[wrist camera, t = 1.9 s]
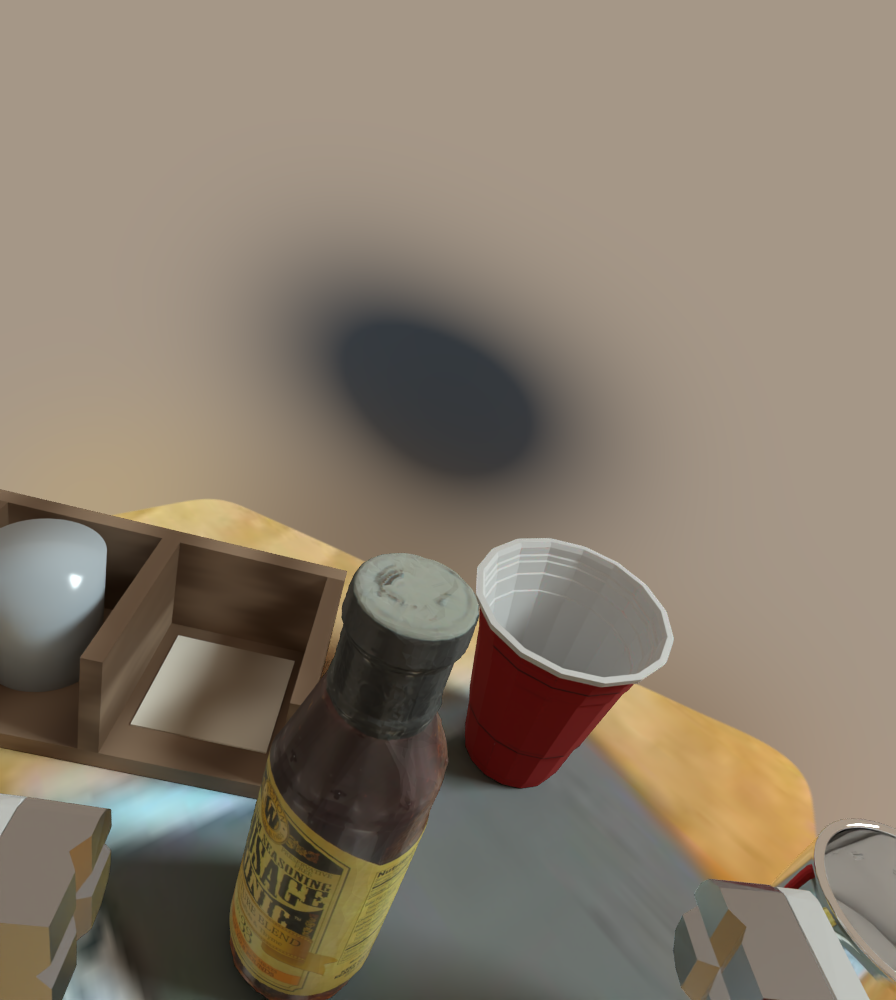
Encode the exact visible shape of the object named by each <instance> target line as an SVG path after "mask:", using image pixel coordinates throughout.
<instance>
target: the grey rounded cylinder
mask: <svg viewBox="0 0 896 1000" xmlns="http://www.w3.org/2000/svg"><path fill="white" fill-rule="evenodd" d="M106 558H107V547H106V543H105V541H104V540H103V538H102V537H101V536H100V535H99V534H98V533H97V532H96V531H94V530H93V529H91V528H89V527H87V526H85V525H82V524H80V523H76V522H73V521H68V520H62V519H31V520H25V521H20V522H16V523H12V524H9V525H7V526H4V527H2V528H0V684H1V685H3V686H5V687H8V688H11V689H14V690H18V691H25V692H45V691H52V690H57V689H61V688H64V687H67V686H70V685H72V684H74V683H76V682H78V681H79V675H80V657H81V655H82V654H83V653H84V651H85V650H86V648H87V647H88V645H89V644H90V642H91V641H92V640H93V638H94V637H95V635H96V634H97V632H98V631H99V629H100V628H101V626H102V625H103V621H104V600H105V579H106Z"/></svg>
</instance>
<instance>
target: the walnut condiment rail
mask: <svg viewBox="0 0 896 1000" xmlns="http://www.w3.org/2000/svg"><path fill="white" fill-rule="evenodd" d="M31 519H62V520H68V521H73V522H76V523H80V524H82V525H85V526H87V527H89V528H91V529H93V530H94V531H96V532H97V533H98V534H99V535H100V536H101V537H102V538H103V540H104V541H105V543H106V547H107V558H106V579H105V600H104V621H103V625H102V626H101V628H100V629H99V631H98V632H97V634H96V635H95V637H94V638H93V640H92V641H91V642H90V644H89V645H88V647H87V648H86V650H85V651H84V653H83V654H82V655H81V657H80V675H79V681H78V682H76V683H74V684H72V685H70V686H67V687H64V688H61V689H57V690H52V691H45V692H25V691H18V690H14V689H11V688H8V687H5V686H3V685H1V684H0V747H2V748H7V749H12V750H17V751H22V752H27V753H32V754H37V755H42V756H47V757H52V758H57V759H62V760H67V761H72V762H76V763H81V764H86V765H91V766H96V767H101V768H106V769H111V770H116V771H121V772H126V773H131V774H136V775H141V776H146V777H151V778H156V779H161V780H166V781H171V782H176V783H181V784H185V785H190V786H195V787H200V788H205V789H210V790H215V791H220V792H225V793H230V794H235V795H240V796H245V797H250V798H255V799H257V798H258V794H259V791H260V787H261V783H262V778H263V773H264V771H265V767H266V762H267V759H268V756H269V752H270V748H271V745H272V742H273V740H274V738H275V736H276V735H277V734H278V733H279V732H280V731H281V730H282V728H283V727H284V726H285V725H286V723H287V722H288V721H289V719H290V718H291V717H292V716H293V714H294V713H295V712H296V710H297V709H298V708H299V706H300V705H301V704H302V703H303V701H304V700H305V699H306V697H307V696H308V695H309V693H310V692H311V691H312V690H313V688H314V687H315V686H316V684H317V683H318V682H319V681H320V679H321V675H322V671H323V667H324V663H325V660H326V656H327V652H328V647H329V643H330V639H331V635H332V631H333V627H334V623H335V619H336V615H337V611H338V606H339V602H340V598H341V594H342V590H343V586H344V582H345V578H346V574H347V571H344V570H340V569H336V568H332V567H327V566H323V565H319V564H315V563H310V562H306V561H302V560H298V559H293V558H289V557H285V556H281V555H277V554H272V553H268V552H264V551H260V550H255V549H251V548H247V547H243V546H238V545H234V544H230V543H226V542H221V541H217V540H213V539H209V538H204V537H200V536H196V535H192V534H187V533H183V532H179V531H175V530H170V529H166V528H162V527H158V526H154V525H149V524H145V523H141V522H137V521H132V520H128V519H124V518H120V517H115V516H111V515H107V514H102V513H98V512H94V511H90V510H86V509H81V508H77V507H73V506H69V505H64V504H60V503H56V502H52V501H47V500H43V499H39V498H35V497H30V496H26V495H21V494H18V493H14V492H9V491H5V490H1V489H0V528H2V527H4V526H7V525H9V524H12V523H16V522H20V521H25V520H31Z"/></svg>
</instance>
